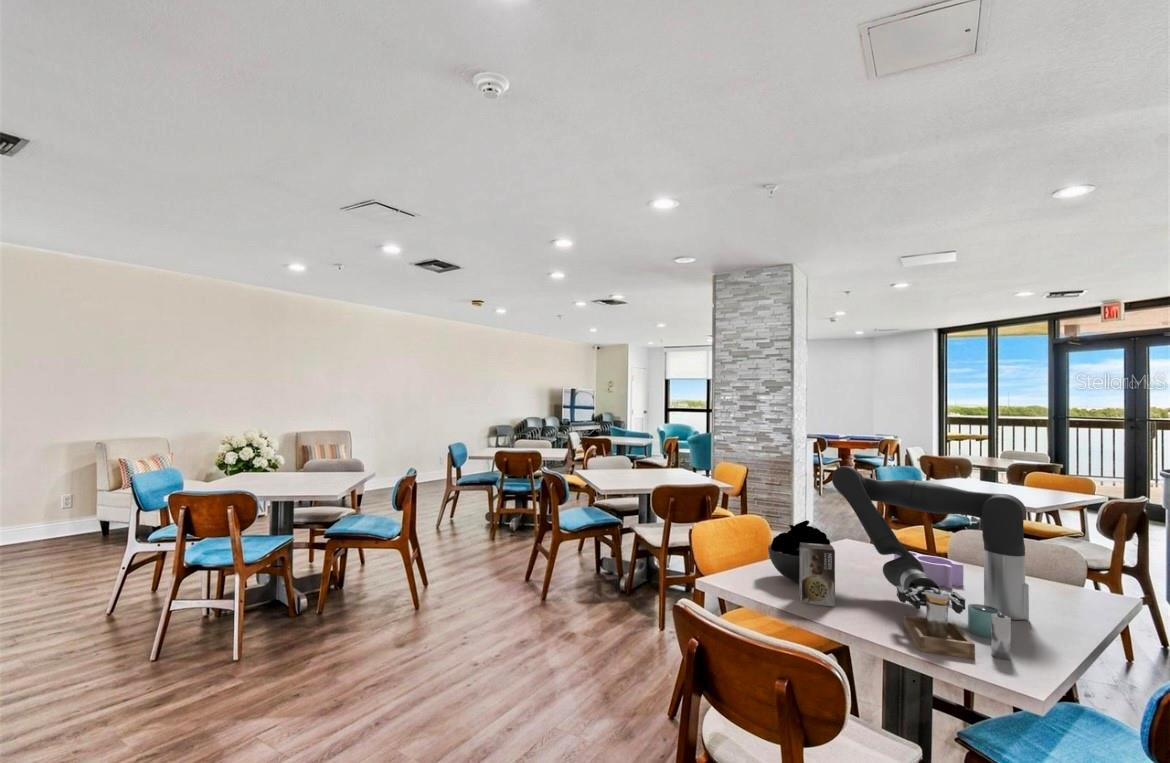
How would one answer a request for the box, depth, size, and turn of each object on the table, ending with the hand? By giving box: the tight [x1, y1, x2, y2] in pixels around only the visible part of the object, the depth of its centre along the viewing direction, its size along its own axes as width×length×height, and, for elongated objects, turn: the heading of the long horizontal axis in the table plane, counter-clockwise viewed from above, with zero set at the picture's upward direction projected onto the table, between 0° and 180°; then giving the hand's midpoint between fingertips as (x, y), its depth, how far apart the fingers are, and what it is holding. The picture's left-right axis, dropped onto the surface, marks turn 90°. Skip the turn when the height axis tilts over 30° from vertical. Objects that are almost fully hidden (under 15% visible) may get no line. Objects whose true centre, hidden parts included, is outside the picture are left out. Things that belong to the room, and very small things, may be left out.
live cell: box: [925, 590, 949, 639], centre depth 132 cm, size 4×4×12 cm
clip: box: [893, 550, 964, 589], centre depth 186 cm, size 20×12×7 cm, turn 28°
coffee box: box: [798, 542, 836, 608], centre depth 159 cm, size 9×6×16 cm
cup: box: [967, 603, 1002, 639], centre depth 140 cm, size 7×7×6 cm
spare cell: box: [990, 613, 1012, 661], centre depth 126 cm, size 4×4×10 cm
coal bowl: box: [767, 519, 831, 583], centre depth 178 cm, size 20×20×19 cm
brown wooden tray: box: [903, 615, 976, 660], centre depth 132 cm, size 11×14×3 cm
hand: (938, 607), depth 132 cm, fingers open, 8 cm apart
